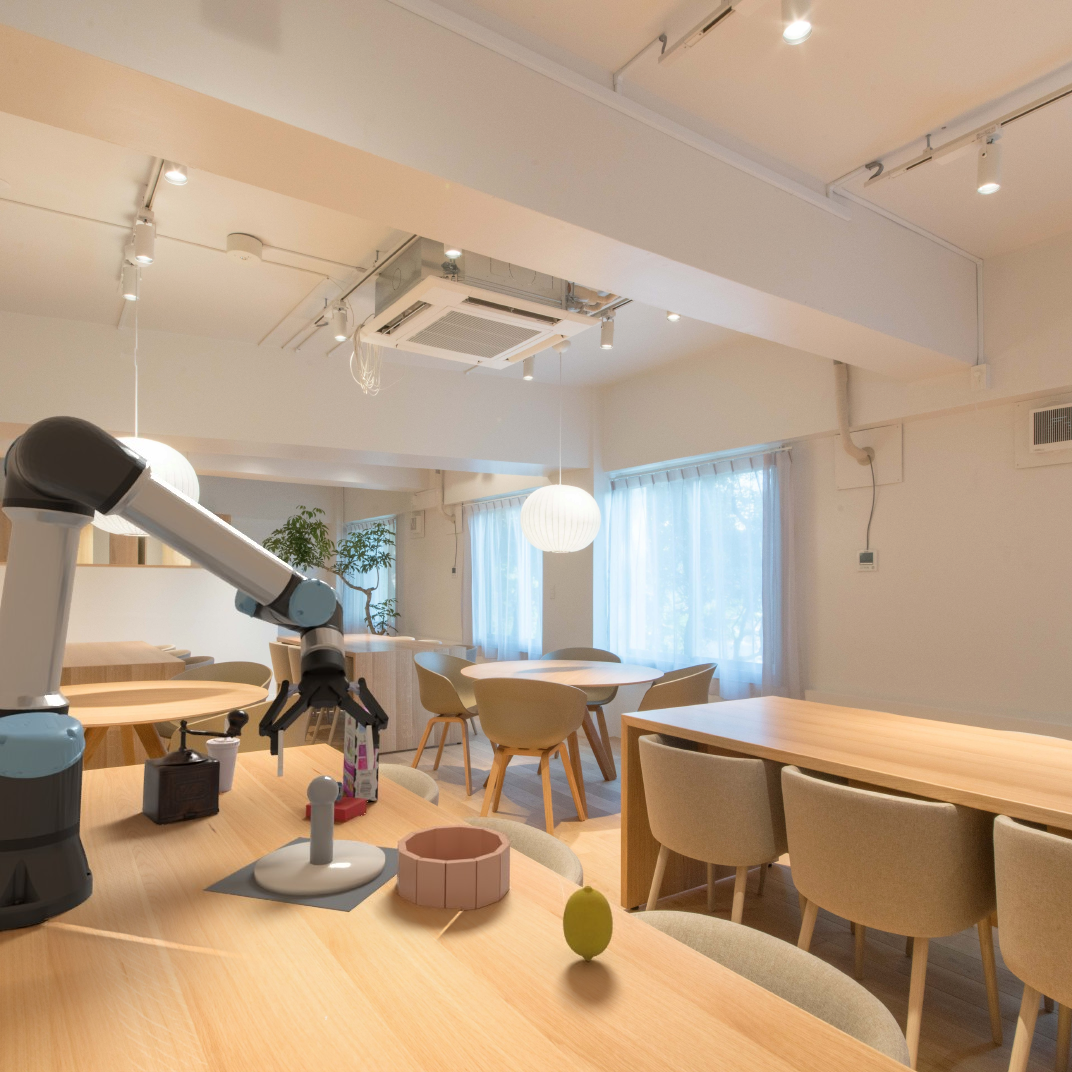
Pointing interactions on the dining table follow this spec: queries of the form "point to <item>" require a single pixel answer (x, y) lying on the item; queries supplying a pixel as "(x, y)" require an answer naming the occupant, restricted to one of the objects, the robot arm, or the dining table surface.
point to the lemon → (587, 922)
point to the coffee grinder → (186, 778)
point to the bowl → (453, 866)
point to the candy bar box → (358, 763)
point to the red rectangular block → (344, 806)
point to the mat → (342, 900)
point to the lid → (320, 854)
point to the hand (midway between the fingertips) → (326, 768)
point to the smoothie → (224, 758)
